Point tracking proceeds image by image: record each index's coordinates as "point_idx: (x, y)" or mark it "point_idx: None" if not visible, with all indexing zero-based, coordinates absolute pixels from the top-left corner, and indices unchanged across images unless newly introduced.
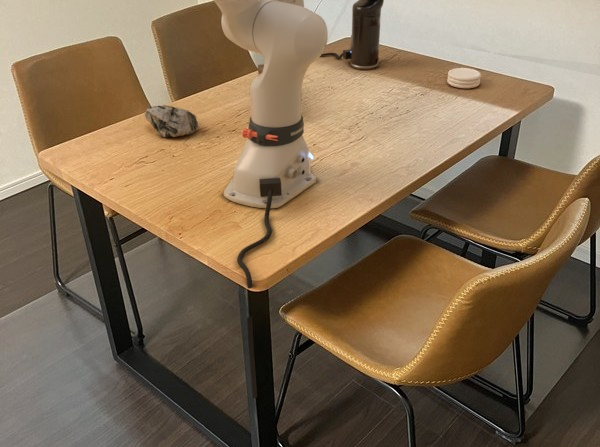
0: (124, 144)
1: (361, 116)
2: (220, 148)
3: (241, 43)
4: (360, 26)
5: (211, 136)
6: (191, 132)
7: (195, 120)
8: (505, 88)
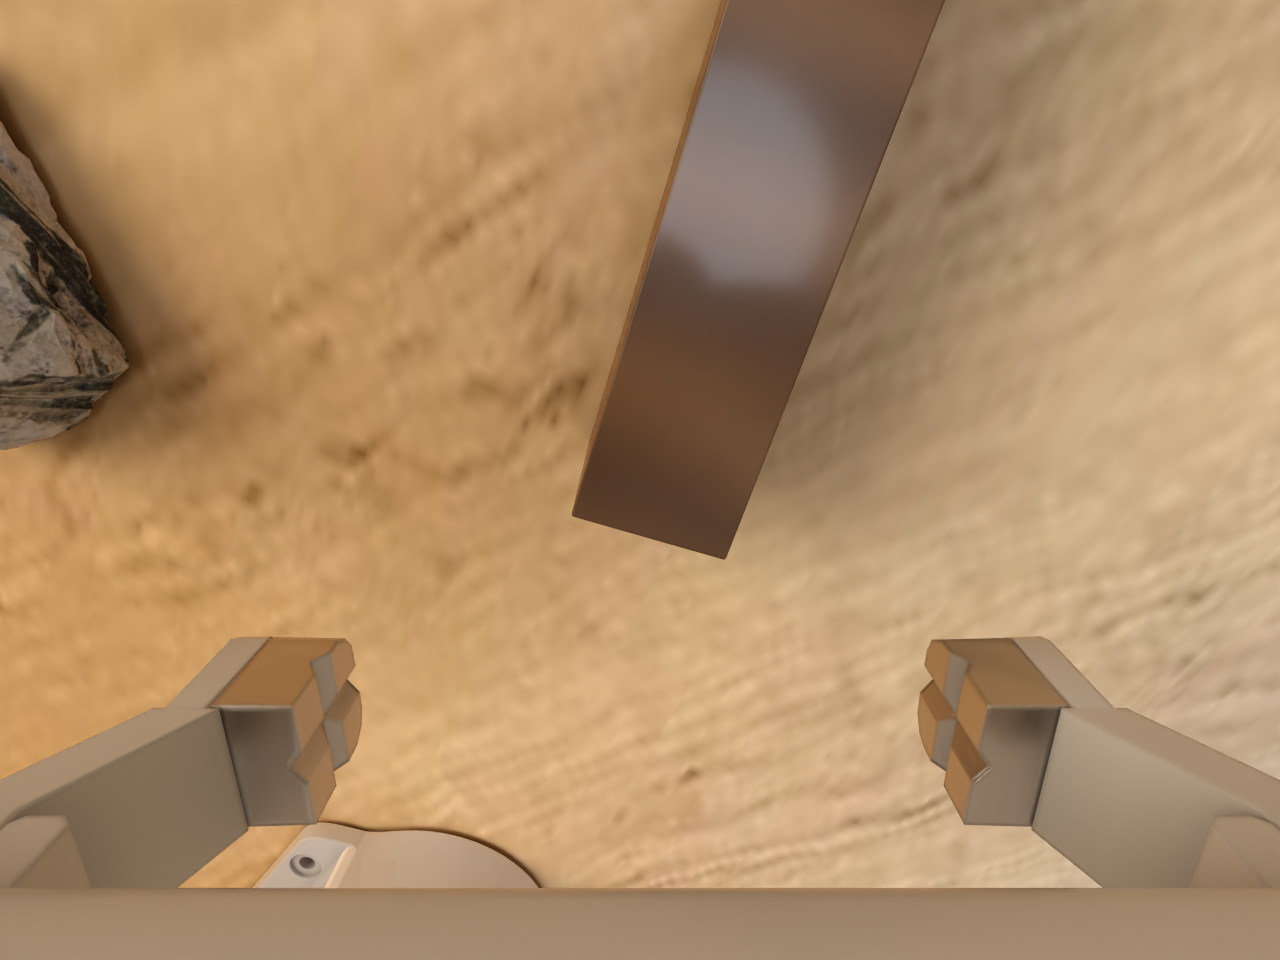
0: None
1: (1118, 603)
2: (242, 623)
3: None
4: None
5: (216, 468)
6: (82, 420)
7: (78, 380)
8: None
